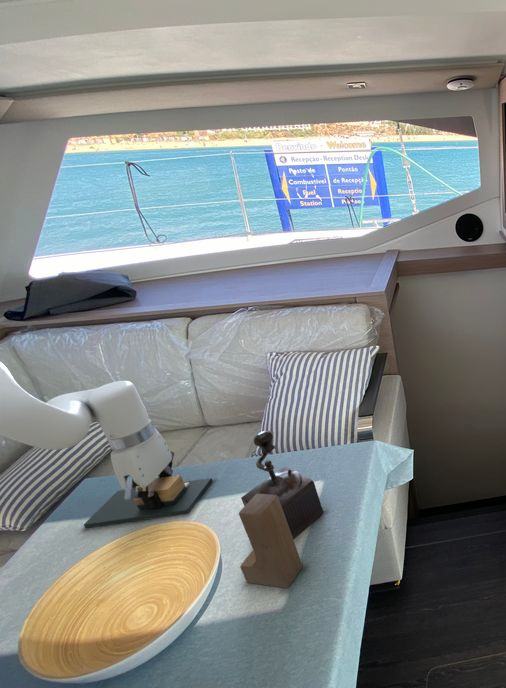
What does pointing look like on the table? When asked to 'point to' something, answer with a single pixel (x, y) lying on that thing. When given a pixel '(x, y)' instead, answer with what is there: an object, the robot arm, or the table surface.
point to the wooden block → (269, 543)
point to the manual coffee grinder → (287, 489)
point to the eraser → (165, 490)
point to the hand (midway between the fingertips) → (162, 498)
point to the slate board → (128, 510)
